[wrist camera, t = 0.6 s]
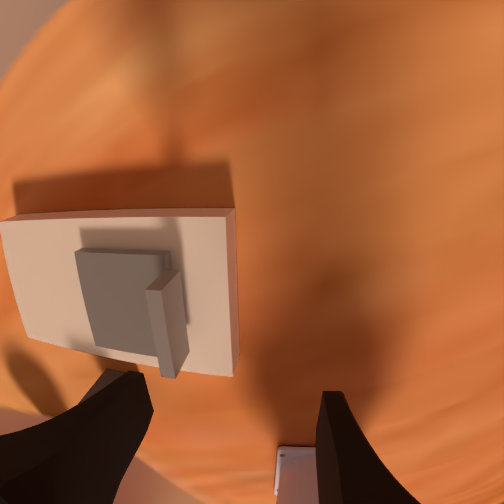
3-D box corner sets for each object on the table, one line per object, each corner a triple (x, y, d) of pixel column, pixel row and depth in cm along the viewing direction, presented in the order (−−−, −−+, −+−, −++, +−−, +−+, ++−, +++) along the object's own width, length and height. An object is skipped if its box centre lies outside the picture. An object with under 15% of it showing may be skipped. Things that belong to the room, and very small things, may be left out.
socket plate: (239, 354, 21) (233, 376, 19) (44, 323, 24) (27, 337, 21) (235, 208, 18) (225, 217, 16) (19, 214, 21) (-2, 221, 18)
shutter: (194, 354, 18) (177, 389, 15) (101, 339, 19) (75, 367, 16) (184, 251, 16) (159, 274, 13) (81, 247, 17) (47, 266, 14)
